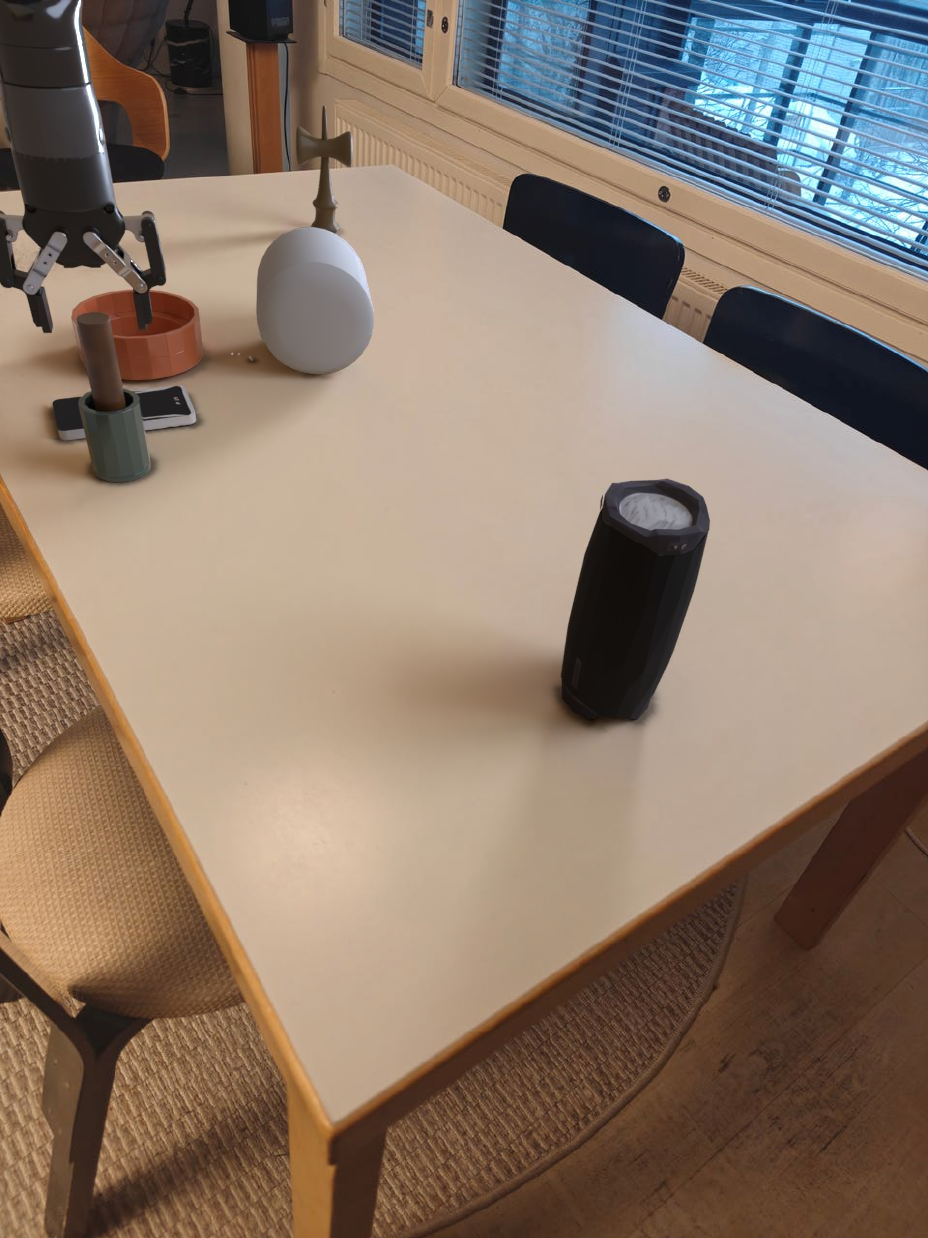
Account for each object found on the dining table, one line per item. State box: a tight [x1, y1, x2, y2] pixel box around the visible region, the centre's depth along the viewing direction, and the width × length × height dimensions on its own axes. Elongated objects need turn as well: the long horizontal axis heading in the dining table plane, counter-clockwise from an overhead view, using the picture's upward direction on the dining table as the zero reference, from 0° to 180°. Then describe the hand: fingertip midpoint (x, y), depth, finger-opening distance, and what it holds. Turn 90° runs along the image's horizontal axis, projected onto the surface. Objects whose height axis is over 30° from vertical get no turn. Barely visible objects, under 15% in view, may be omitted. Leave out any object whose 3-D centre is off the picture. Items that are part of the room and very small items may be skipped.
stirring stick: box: [76, 312, 126, 412], centre depth 87 cm, size 3×3×16 cm
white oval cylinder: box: [230, 226, 375, 375], centre depth 116 cm, size 19×15×25 cm
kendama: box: [295, 105, 354, 234], centre depth 149 cm, size 6×10×20 cm, turn 98°
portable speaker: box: [560, 478, 711, 721], centre depth 68 cm, size 9×9×20 cm
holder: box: [79, 387, 152, 483], centre depth 90 cm, size 6×6×8 cm
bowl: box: [71, 289, 205, 381], centre depth 111 cm, size 15×15×6 cm
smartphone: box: [51, 385, 197, 442], centre depth 101 cm, size 8×1×15 cm
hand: (96, 328), depth 83 cm, fingers open, 8 cm apart
